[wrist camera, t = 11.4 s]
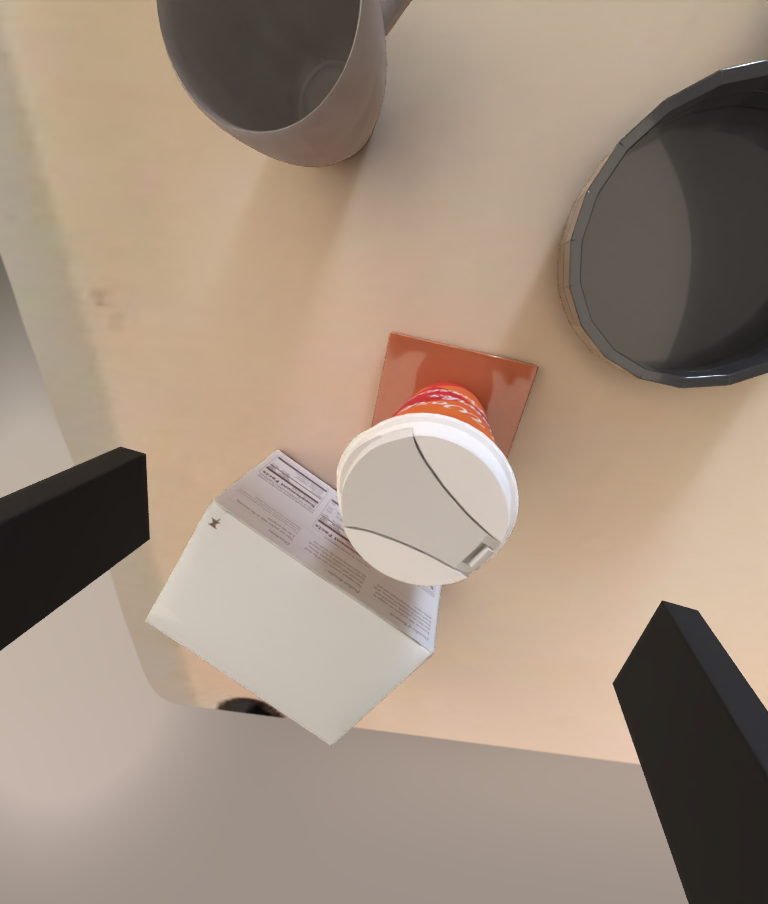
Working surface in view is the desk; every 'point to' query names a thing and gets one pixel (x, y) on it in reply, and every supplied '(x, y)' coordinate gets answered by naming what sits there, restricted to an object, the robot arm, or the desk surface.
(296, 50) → the mug
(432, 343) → the coaster
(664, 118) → the pan
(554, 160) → the desk surface
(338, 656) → the supplement box
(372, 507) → the paper cup
